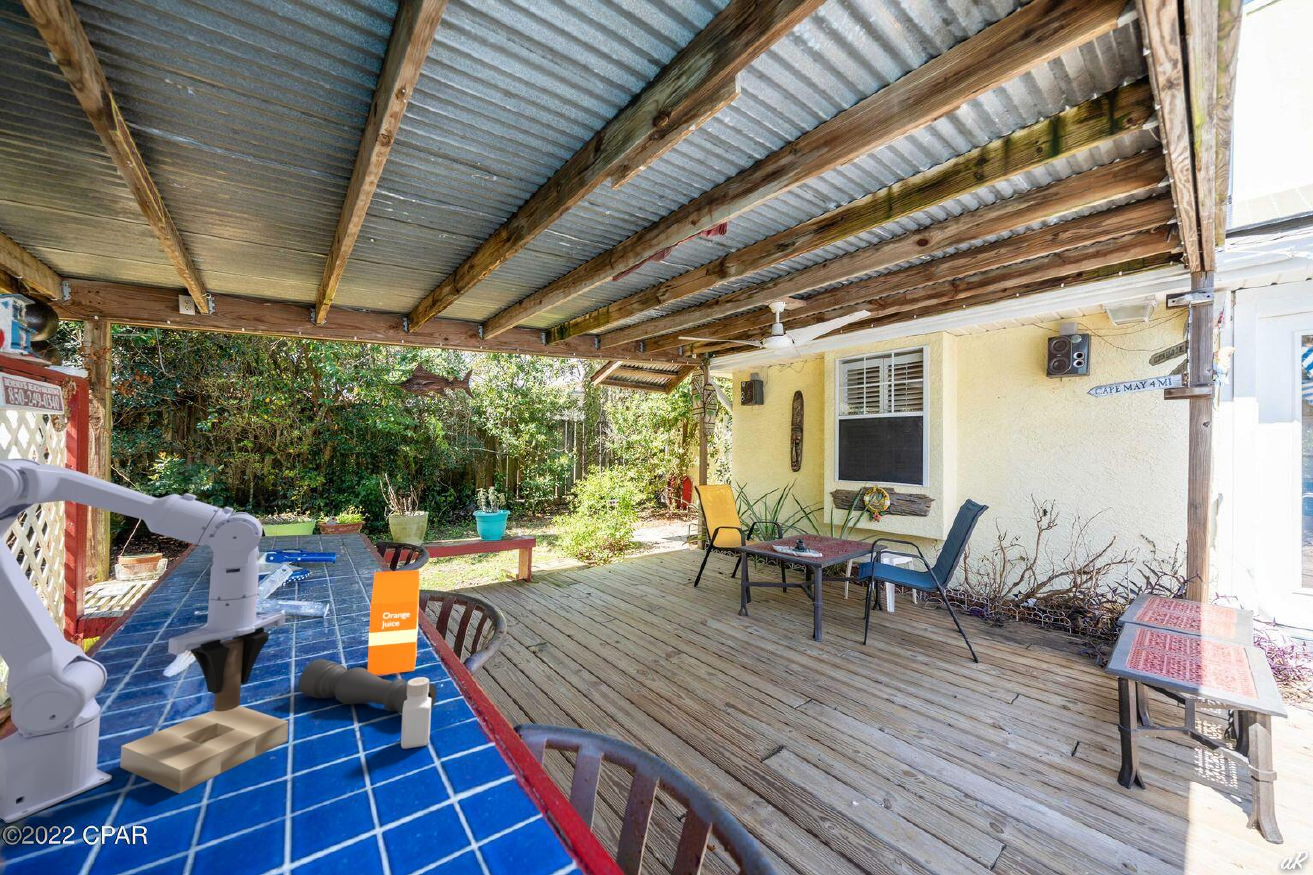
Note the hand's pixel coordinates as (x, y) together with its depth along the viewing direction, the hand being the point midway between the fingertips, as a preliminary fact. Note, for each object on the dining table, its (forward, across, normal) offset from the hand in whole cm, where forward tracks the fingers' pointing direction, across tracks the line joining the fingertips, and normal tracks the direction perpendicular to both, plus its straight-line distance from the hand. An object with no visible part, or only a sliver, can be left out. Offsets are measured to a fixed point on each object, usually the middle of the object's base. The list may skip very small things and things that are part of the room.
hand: (228, 686), depth 79 cm
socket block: (+10, -1, +2) cm, 10 cm away
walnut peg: (+3, 0, 0) cm, 3 cm away
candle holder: (+7, +18, +7) cm, 21 cm away
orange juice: (+10, +34, +4) cm, 36 cm away
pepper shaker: (+10, +14, -23) cm, 29 cm away
